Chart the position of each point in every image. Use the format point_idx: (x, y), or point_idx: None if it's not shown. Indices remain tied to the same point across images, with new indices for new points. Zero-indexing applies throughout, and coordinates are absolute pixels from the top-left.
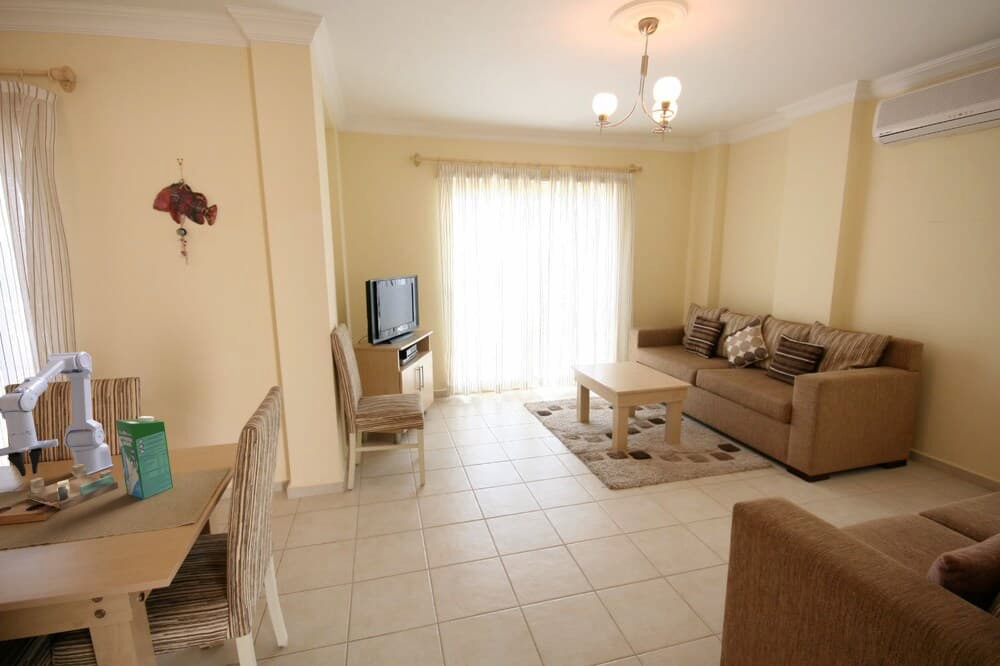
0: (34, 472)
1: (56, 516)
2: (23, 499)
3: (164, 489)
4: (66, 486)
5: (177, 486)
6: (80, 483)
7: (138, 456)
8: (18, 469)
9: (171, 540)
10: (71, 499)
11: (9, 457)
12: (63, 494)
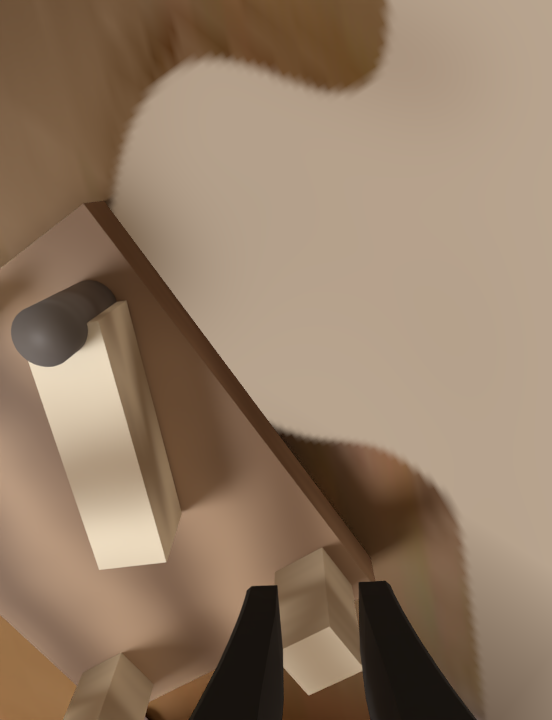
0: (258, 596)
1: (104, 76)
2: (394, 568)
3: None
4: (53, 407)
5: None
6: (73, 557)
7: None
8: (433, 665)
9: None
10: (27, 252)
11: None
12: (61, 293)
